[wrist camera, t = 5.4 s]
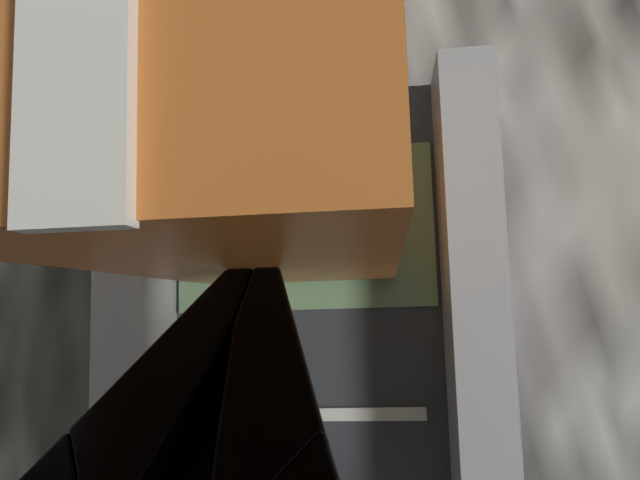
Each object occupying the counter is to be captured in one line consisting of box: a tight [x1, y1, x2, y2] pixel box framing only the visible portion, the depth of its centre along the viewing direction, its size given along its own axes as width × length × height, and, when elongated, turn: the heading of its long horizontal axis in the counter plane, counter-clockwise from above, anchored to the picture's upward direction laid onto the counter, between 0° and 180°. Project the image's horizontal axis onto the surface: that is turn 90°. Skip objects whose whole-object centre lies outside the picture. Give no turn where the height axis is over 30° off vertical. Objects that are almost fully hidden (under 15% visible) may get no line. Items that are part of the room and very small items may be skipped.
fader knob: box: [0, 0, 414, 284], centre depth 9 cm, size 4×4×10 cm
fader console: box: [89, 45, 524, 480], centre depth 13 cm, size 19×9×4 cm, turn 2°
